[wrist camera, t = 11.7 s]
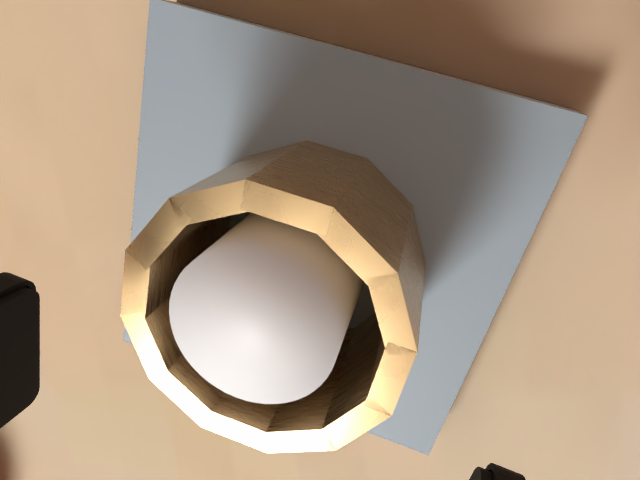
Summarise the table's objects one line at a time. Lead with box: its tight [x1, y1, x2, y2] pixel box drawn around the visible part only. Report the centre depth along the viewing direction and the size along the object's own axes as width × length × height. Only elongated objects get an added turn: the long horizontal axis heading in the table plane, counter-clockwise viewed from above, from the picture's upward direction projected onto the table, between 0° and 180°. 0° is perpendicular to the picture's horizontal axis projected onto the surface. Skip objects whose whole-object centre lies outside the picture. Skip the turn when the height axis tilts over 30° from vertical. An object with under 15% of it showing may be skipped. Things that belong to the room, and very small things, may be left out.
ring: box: [121, 140, 426, 453], centre depth 14 cm, size 7×7×5 cm
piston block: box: [123, 0, 588, 455], centre depth 15 cm, size 13×13×6 cm
